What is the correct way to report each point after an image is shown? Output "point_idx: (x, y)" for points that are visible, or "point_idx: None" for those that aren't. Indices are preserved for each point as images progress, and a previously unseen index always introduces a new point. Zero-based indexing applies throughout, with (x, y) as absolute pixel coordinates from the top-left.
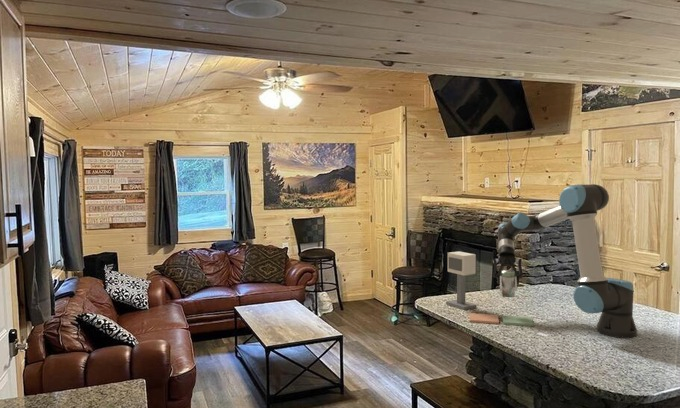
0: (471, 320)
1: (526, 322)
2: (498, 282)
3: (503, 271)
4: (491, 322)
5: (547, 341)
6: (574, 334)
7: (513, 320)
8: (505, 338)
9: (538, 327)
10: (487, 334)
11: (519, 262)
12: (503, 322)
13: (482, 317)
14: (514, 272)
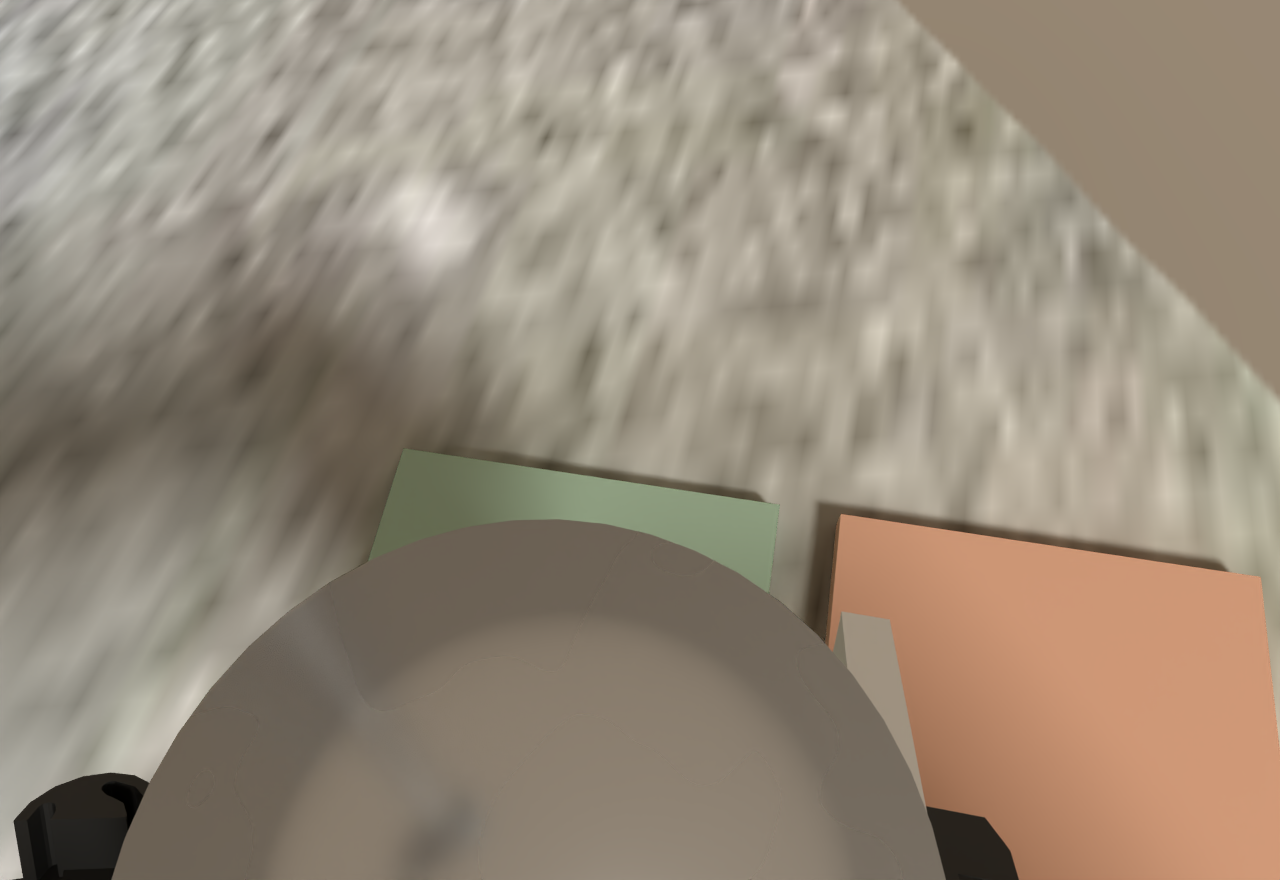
0: (1226, 574)
1: (471, 508)
2: (956, 831)
3: (850, 728)
4: (936, 534)
5: (467, 53)
6: (102, 234)
7: None
8: (835, 86)
9: (370, 423)
10: (1004, 168)
11: None
12: (778, 505)
13: (1068, 712)
14: (215, 728)
